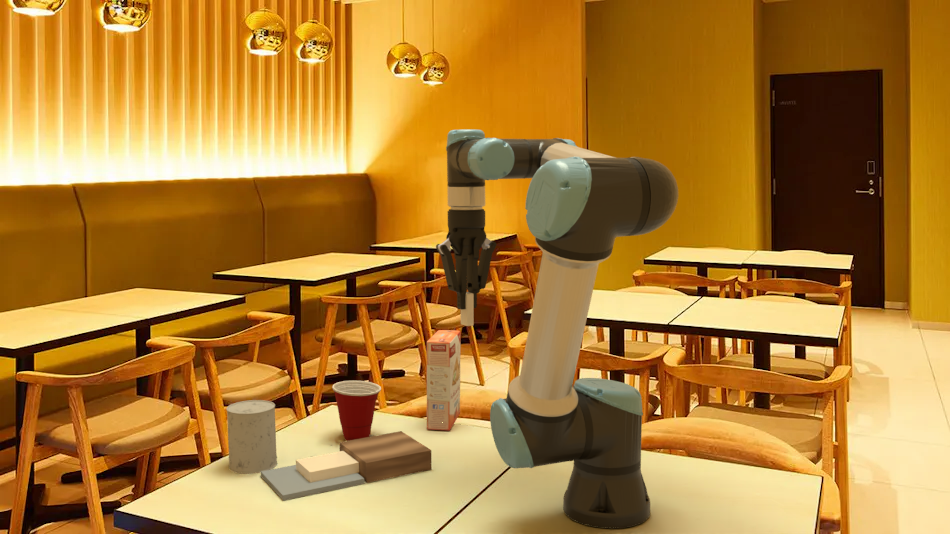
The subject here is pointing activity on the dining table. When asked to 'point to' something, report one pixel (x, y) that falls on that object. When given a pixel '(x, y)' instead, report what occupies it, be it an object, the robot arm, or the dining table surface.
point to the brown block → (388, 456)
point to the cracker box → (443, 379)
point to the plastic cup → (356, 407)
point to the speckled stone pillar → (251, 436)
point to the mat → (304, 482)
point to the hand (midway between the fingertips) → (467, 324)
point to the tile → (327, 466)
